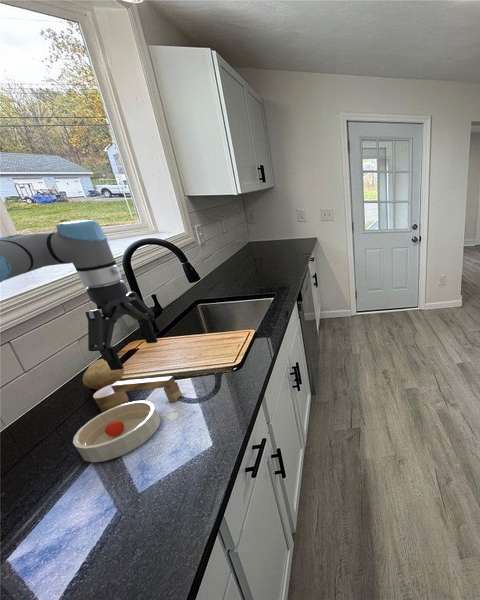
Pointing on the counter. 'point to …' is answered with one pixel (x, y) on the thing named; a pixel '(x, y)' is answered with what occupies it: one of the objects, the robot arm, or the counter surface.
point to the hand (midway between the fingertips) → (136, 354)
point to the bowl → (137, 430)
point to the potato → (101, 375)
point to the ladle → (117, 395)
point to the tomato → (114, 428)
